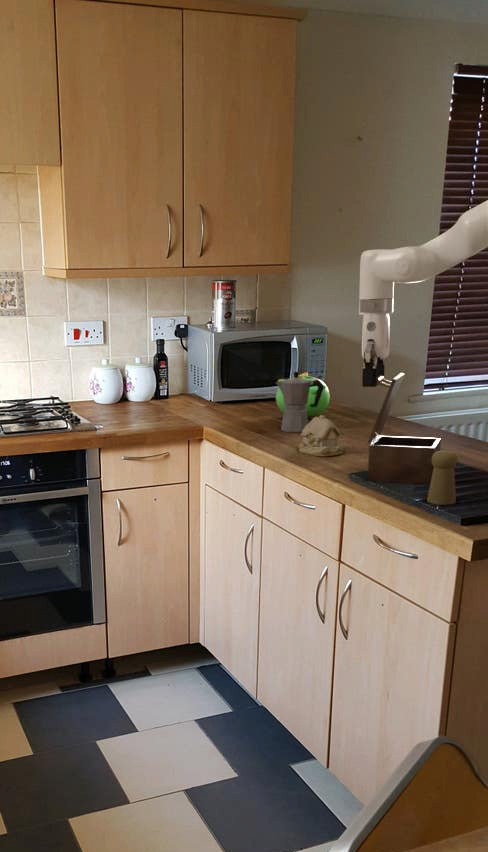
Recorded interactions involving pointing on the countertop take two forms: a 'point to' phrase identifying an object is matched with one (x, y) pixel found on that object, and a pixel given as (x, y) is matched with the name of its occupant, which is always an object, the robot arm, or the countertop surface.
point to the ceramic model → (320, 438)
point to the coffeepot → (297, 402)
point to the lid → (385, 403)
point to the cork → (443, 478)
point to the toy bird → (311, 397)
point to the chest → (402, 459)
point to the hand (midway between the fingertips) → (373, 384)
